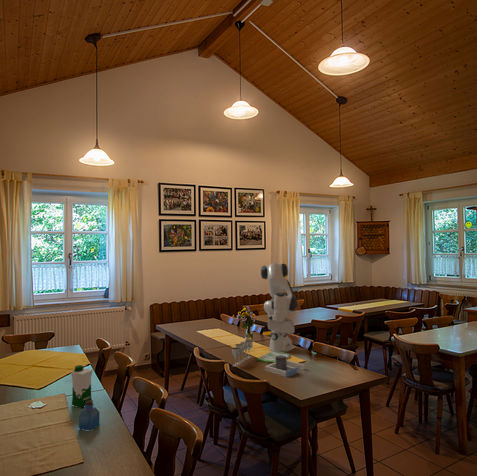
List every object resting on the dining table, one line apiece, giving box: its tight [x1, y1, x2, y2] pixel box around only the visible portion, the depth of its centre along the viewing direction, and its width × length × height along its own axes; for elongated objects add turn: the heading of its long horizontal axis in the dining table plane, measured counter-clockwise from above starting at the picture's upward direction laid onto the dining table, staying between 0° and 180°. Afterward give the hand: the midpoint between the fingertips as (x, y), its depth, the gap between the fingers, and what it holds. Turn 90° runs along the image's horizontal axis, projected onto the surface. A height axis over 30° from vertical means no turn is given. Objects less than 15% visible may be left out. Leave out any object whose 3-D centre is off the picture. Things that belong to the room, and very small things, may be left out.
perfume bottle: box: [78, 400, 100, 431], centre depth 173 cm, size 6×6×12 cm
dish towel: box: [256, 350, 291, 365], centre depth 277 cm, size 17×23×4 cm
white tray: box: [264, 359, 306, 378], centre depth 251 cm, size 20×19×4 cm
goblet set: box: [231, 339, 253, 368], centre depth 273 cm, size 28×6×13 cm, turn 154°
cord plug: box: [276, 355, 287, 371], centre depth 248 cm, size 5×5×10 cm
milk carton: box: [70, 365, 94, 408], centre depth 198 cm, size 9×9×20 cm
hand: (281, 338), depth 248 cm, fingers closed
